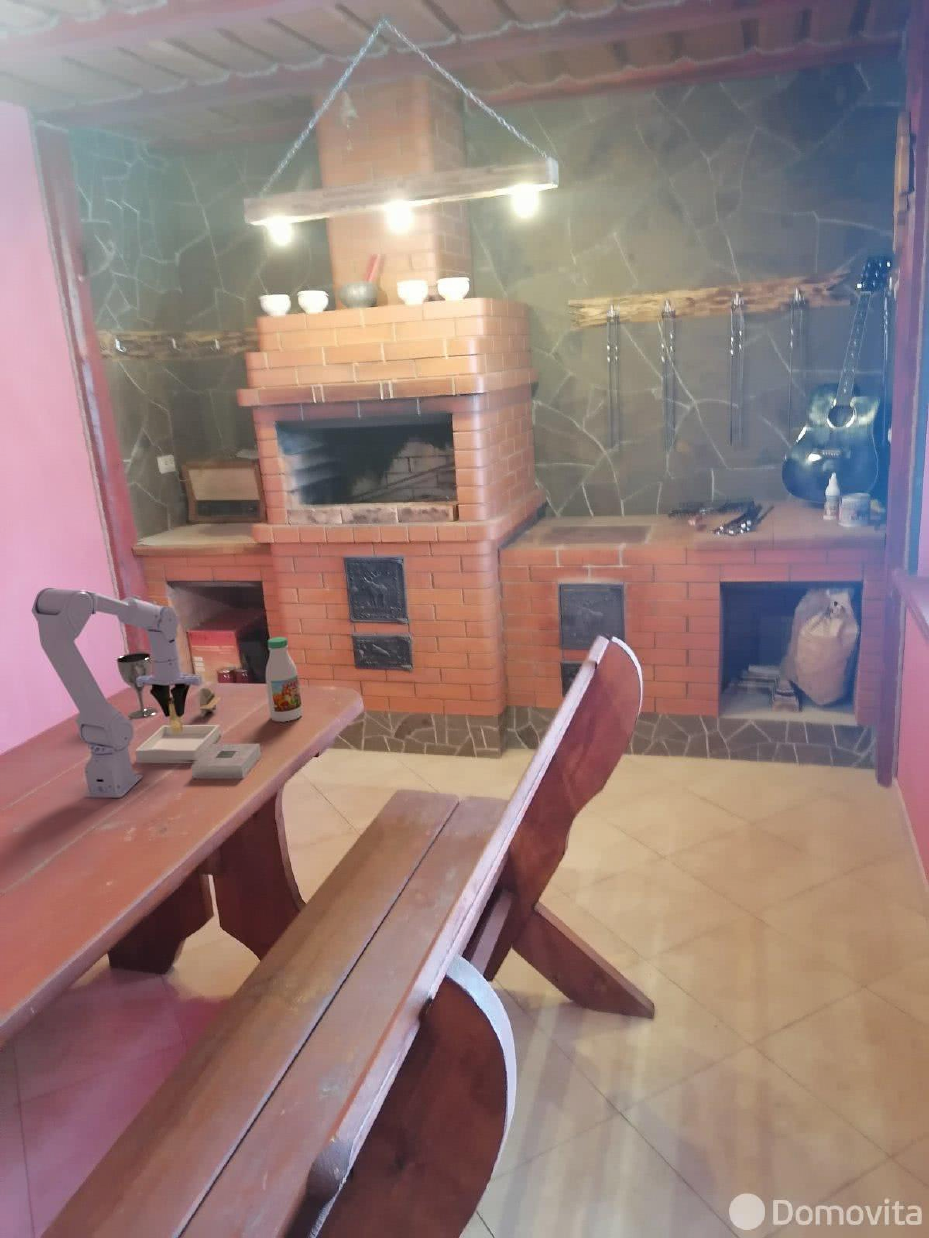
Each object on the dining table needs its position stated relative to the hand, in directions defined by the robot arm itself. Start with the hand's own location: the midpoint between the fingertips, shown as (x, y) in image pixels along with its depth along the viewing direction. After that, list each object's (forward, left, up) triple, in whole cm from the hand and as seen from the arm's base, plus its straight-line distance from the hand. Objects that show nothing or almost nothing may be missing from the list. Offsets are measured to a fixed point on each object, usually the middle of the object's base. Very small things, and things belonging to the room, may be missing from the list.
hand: (174, 715), depth 203 cm
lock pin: (0, 0, -4) cm, 4 cm away
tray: (0, 0, -8) cm, 8 cm away
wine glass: (+22, +20, -9) cm, 31 cm away
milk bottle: (+19, -19, -9) cm, 28 cm away
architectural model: (+22, +2, -9) cm, 24 cm away
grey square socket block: (-9, -15, -8) cm, 19 cm away
